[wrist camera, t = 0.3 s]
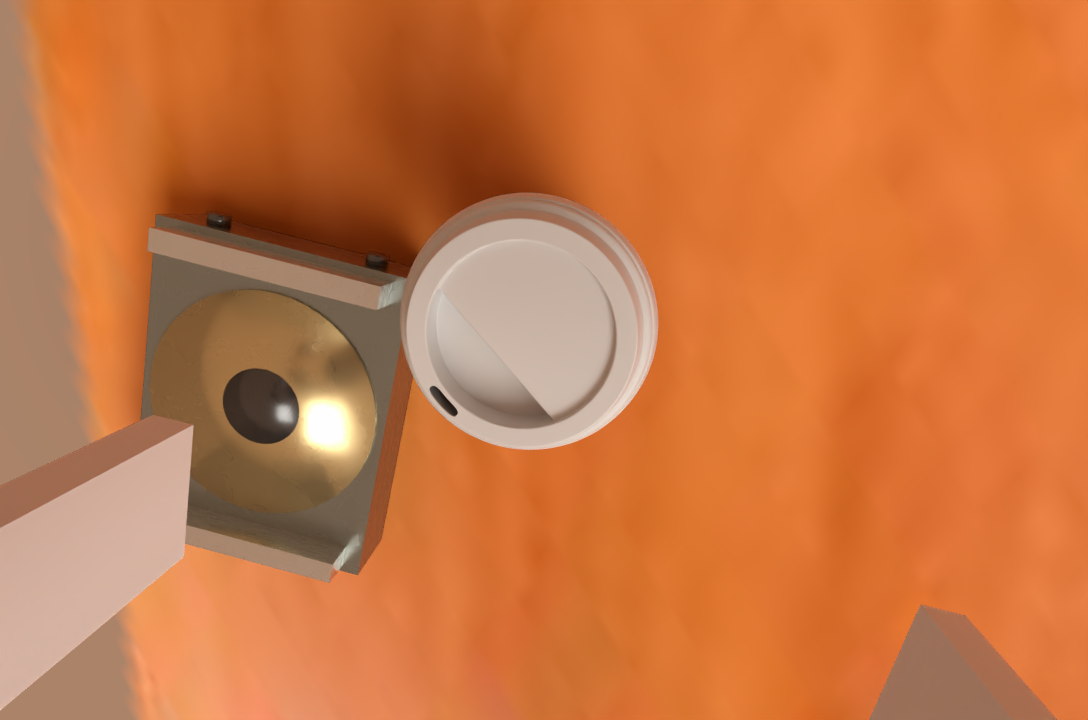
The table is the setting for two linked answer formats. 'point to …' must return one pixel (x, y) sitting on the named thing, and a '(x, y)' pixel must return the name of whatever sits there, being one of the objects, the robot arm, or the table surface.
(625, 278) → the coffee cup
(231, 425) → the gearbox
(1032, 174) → the table surface
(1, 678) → the robot arm
